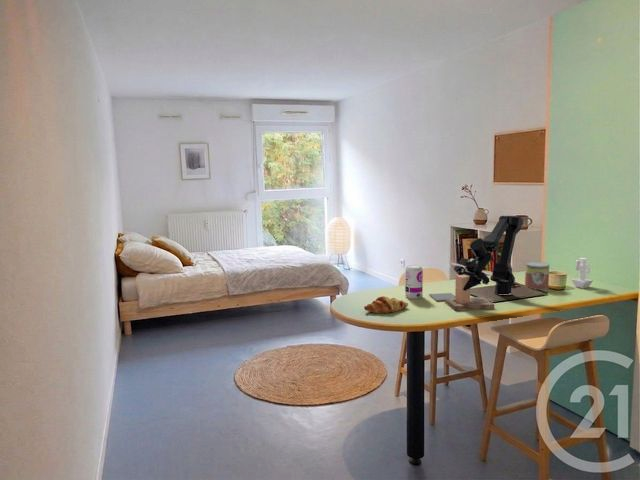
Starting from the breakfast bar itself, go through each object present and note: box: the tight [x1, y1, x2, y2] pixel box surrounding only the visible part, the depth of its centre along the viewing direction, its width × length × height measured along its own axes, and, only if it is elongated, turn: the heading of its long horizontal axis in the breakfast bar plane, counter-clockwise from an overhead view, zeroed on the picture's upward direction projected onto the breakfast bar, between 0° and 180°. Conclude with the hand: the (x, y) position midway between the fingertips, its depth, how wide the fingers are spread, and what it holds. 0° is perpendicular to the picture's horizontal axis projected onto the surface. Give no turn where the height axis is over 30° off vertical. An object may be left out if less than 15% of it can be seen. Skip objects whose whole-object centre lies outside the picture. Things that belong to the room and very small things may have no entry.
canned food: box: [524, 261, 550, 291], centre depth 252 cm, size 11×11×12 cm
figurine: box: [570, 257, 594, 289], centre depth 250 cm, size 7×9×15 cm
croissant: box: [363, 295, 409, 314], centre depth 217 cm, size 21×10×8 cm, turn 109°
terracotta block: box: [454, 274, 471, 304], centre depth 221 cm, size 4×4×12 cm
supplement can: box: [404, 264, 424, 300], centre depth 238 cm, size 8×8×15 cm
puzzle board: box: [444, 296, 495, 311], centre depth 222 cm, size 18×12×2 cm
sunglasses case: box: [489, 273, 521, 286], centre depth 263 cm, size 18×7×7 cm
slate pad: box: [428, 292, 455, 302], centre depth 236 cm, size 11×11×1 cm
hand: (460, 289), depth 220 cm, fingers closed on terracotta block, 4 cm apart
